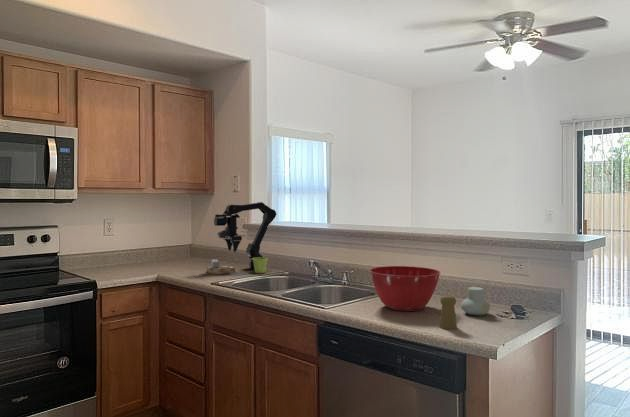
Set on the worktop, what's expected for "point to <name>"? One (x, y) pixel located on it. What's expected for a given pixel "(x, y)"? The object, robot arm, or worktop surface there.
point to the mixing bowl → (404, 286)
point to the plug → (214, 264)
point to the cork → (448, 312)
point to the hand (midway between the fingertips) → (232, 251)
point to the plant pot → (260, 264)
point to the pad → (237, 273)
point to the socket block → (221, 270)
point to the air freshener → (475, 302)
